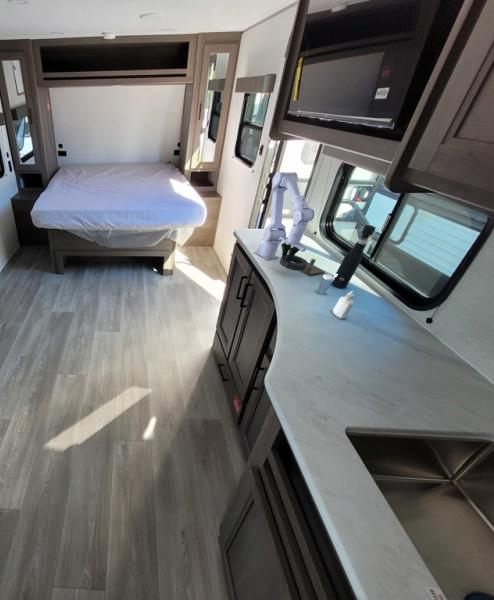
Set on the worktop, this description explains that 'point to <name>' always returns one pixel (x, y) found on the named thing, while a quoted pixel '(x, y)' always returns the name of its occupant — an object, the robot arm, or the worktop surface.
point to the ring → (297, 265)
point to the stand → (312, 269)
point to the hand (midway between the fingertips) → (286, 258)
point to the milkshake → (325, 283)
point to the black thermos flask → (352, 260)
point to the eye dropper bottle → (344, 305)
